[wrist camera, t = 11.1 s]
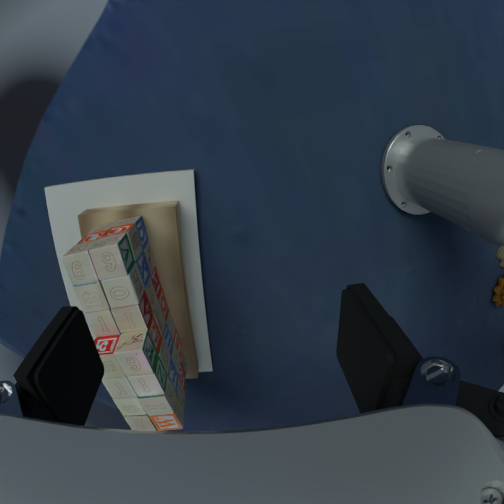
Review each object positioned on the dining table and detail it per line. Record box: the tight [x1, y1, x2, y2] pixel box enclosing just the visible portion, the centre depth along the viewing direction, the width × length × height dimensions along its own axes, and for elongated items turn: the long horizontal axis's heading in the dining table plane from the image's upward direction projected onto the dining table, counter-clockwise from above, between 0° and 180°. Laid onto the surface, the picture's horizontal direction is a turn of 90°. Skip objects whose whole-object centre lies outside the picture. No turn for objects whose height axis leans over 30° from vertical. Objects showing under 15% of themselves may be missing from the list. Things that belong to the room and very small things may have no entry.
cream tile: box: [45, 169, 213, 372], centre depth 41 cm, size 20×30×1 cm, turn 1°
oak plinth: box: [78, 201, 199, 379], centre depth 40 cm, size 12×25×3 cm, turn 1°
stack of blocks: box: [62, 216, 187, 431], centre depth 32 cm, size 21×6×12 cm, turn 9°
